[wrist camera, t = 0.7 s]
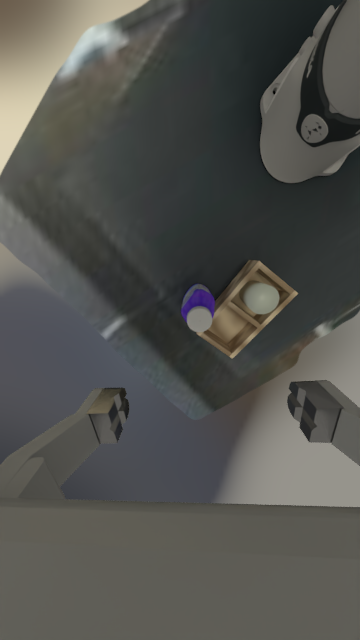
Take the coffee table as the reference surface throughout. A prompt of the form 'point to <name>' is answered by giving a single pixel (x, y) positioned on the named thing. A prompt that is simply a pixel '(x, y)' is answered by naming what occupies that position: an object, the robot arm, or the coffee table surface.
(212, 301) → the bottle
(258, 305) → the pale green egg
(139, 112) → the coffee table surface
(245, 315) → the rack
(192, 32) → the coffee table surface
